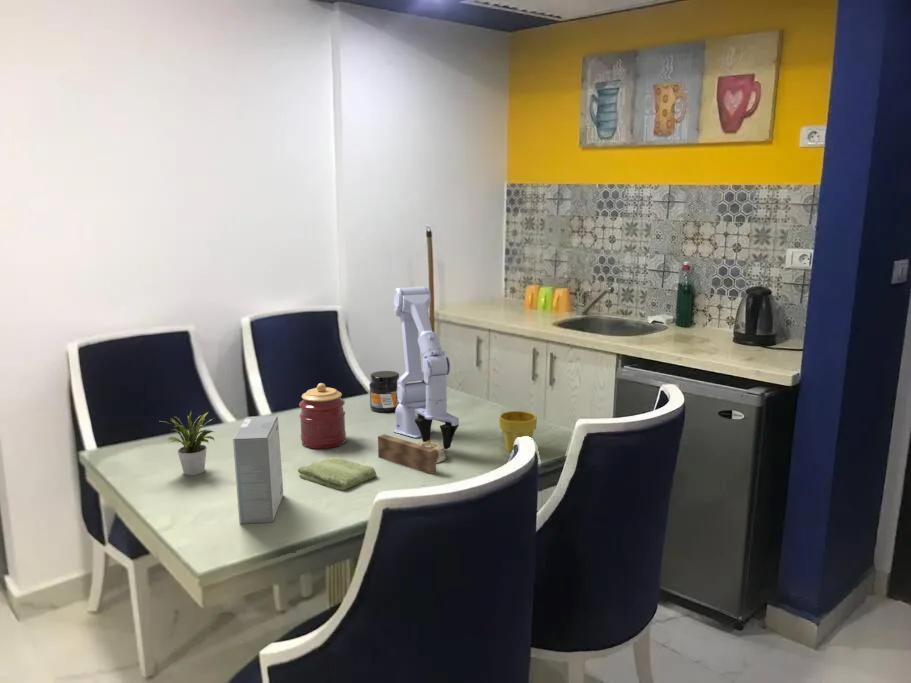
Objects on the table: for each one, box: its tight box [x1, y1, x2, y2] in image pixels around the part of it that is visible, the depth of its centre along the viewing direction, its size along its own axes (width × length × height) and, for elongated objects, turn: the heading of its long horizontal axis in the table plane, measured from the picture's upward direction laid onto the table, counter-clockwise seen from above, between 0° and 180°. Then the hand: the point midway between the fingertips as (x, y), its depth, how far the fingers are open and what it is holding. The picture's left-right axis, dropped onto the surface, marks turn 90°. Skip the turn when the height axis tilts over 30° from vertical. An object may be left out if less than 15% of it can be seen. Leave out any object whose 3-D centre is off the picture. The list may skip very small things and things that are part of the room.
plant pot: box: [498, 410, 538, 453], centre depth 206 cm, size 10×10×10 cm
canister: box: [298, 382, 347, 450], centre depth 212 cm, size 13×13×18 cm
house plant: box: [160, 410, 216, 476], centre depth 188 cm, size 14×14×16 cm
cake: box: [417, 439, 447, 464], centre depth 200 cm, size 10×10×5 cm
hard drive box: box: [232, 415, 284, 525], centre depth 166 cm, size 16×8×20 cm, turn 5°
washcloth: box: [297, 457, 377, 491], centre depth 187 cm, size 13×18×3 cm
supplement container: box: [368, 370, 400, 413], centre depth 245 cm, size 10×10×12 cm
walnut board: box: [377, 433, 437, 475], centre depth 195 cm, size 19×2×6 cm, turn 50°
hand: (436, 445), depth 204 cm, fingers open, 7 cm apart
